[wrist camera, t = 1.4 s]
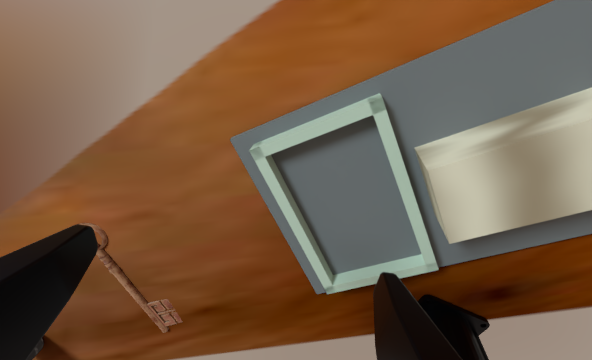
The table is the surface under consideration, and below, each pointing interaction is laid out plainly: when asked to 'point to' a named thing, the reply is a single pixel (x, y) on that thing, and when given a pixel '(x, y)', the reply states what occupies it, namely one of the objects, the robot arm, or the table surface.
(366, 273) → the tray frame
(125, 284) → the key
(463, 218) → the card box
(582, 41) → the mat
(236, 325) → the table surface
